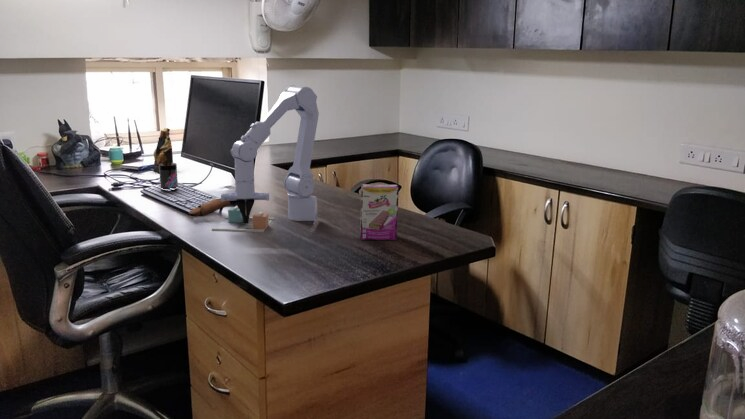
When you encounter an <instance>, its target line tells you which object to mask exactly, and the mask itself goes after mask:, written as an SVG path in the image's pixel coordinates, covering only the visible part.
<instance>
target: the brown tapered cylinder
mask: <svg viewBox="0 0 745 419" xmlns="http://www.w3.org/2000/svg"><path fill="white" fill-rule="evenodd" d="M227 206H231V201H221V197H220V198H216V199H215V198H214V199H212V200H210V201H207V202H205V203H202V204H200V205H197V207H195V208H193V209H191V210H190V211H188V213H189V214H190V215H196V216H202V217H204V216H207V215H209V214H210V213H213V212H216V211H218V210H220V209H222V208H224V207H227Z"/></svg>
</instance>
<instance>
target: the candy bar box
mask: <svg viewBox="0 0 745 419" xmlns="http://www.w3.org/2000/svg"><path fill="white" fill-rule="evenodd" d="M398 207H399V185H398V184H375V183H374V184H371V183H370V184H368V183H367V184H366V183H363V184H361V190H360V218H359V219H360V222H359V223H360V224H359V226H360V227H359V228H360V229H359V238H360V240H361V241H375V240H376V241H397V236H398V235H397V233H398V212H399V211H398V210H399V209H398Z"/></svg>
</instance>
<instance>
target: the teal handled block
mask: <svg viewBox="0 0 745 419" xmlns="http://www.w3.org/2000/svg"><path fill="white" fill-rule="evenodd" d="M227 213H228V214H227V215H228V221H229V222H231V223H232V222H233V223H234V224H242V223H243V222H244V221H243V217H242V214H241V212H240V210H239V208H238V206H237V205H235V206H234V207H233V206H231V207H229V209H228V210H227ZM242 221H243V222H242ZM241 222H242V223H241Z"/></svg>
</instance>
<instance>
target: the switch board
mask: <svg viewBox="0 0 745 419" xmlns="http://www.w3.org/2000/svg"><path fill="white" fill-rule="evenodd" d="M224 219H228V216H224ZM274 220H275V217H269V225H270V224H271V222H273V221H274ZM227 223H228V224H231V223H232V224H234V222H229V220H228V221H227ZM249 223H250V224H244V221H242V222H241V223H240V225H239V226H238V227H237V228H225V227H224V228H223V227H219V228H218V227H211V231H212V232H213V231H219V232H249V233H250V232H251V233H264V232H265V230H266V229H253V216H249Z"/></svg>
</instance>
